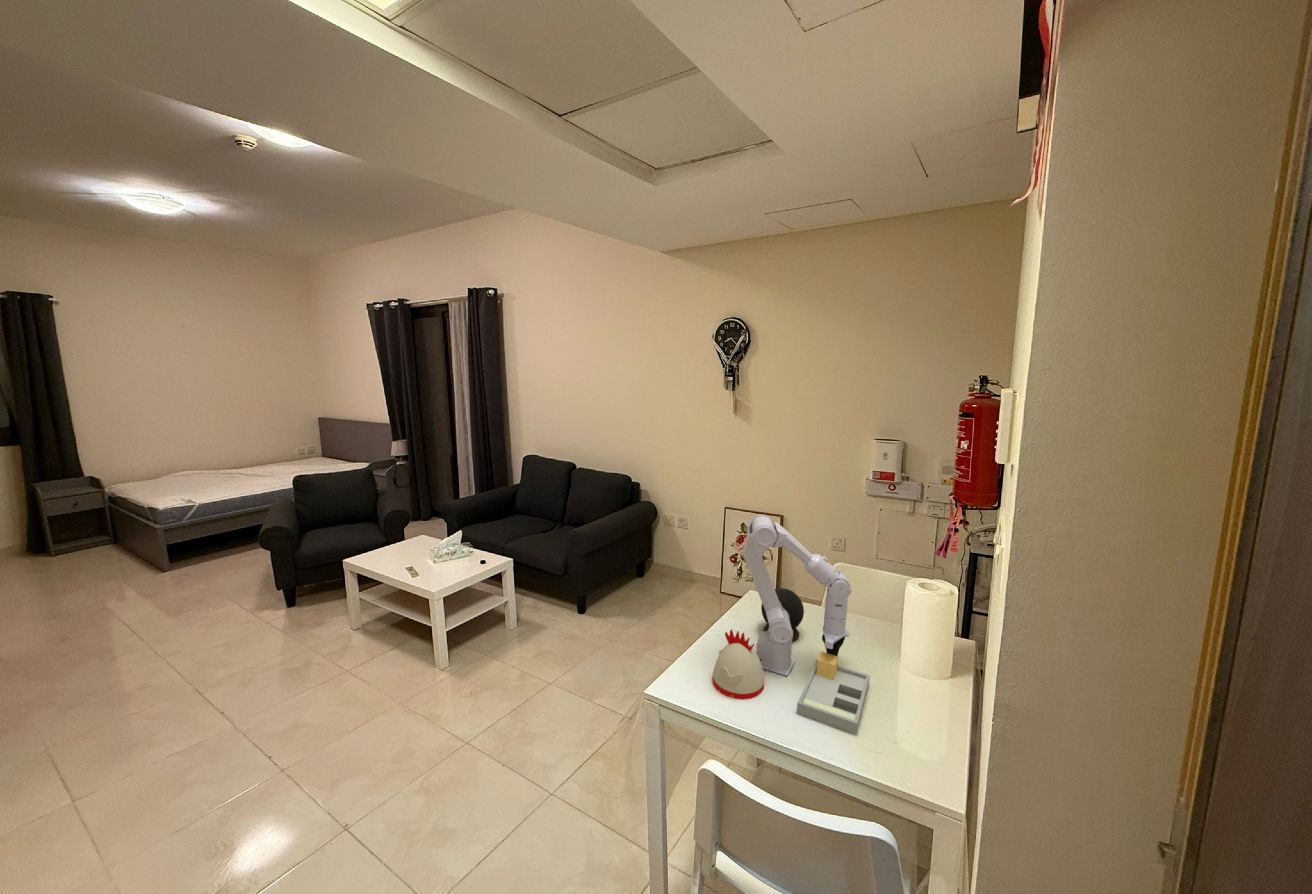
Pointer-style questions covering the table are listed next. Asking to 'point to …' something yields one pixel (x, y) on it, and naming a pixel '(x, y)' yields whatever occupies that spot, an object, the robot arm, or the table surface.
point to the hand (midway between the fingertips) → (832, 659)
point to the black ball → (788, 610)
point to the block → (827, 665)
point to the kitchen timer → (738, 669)
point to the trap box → (835, 698)
